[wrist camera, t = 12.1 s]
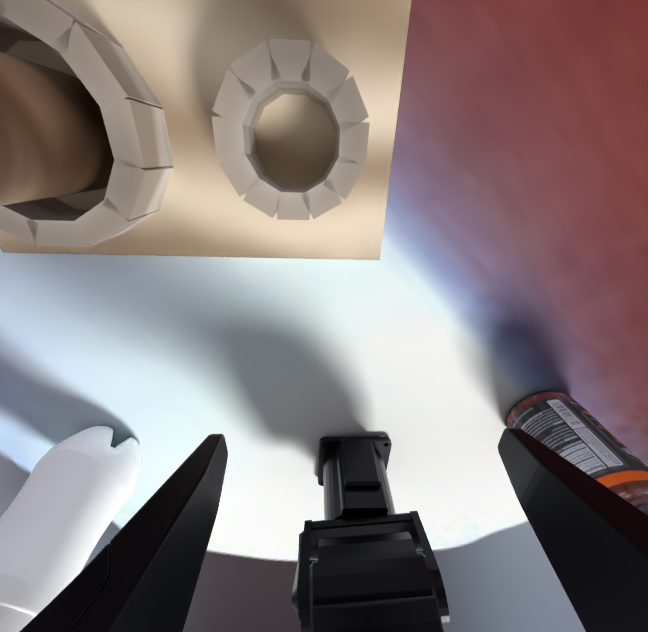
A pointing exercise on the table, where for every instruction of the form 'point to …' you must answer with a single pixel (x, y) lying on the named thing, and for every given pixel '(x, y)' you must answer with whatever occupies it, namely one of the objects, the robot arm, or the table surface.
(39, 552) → the water bottle
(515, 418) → the supplement bottle
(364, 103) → the two-ring peg board
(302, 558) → the robot arm
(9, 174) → the walnut peg
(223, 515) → the table surface
